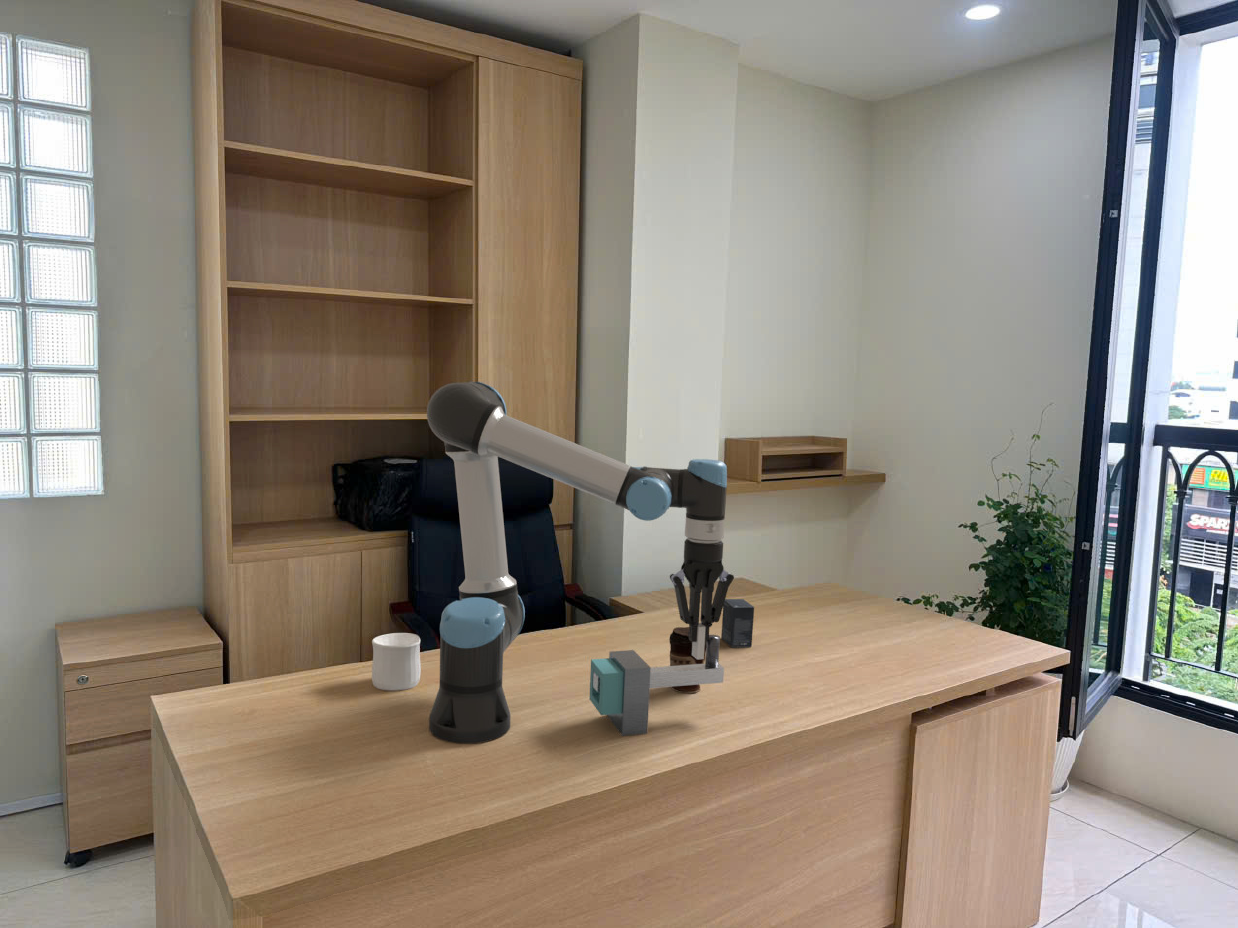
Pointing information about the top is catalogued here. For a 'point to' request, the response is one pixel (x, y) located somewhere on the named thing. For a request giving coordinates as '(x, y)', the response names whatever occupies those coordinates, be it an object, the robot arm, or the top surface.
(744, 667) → the top surface
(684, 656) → the coffee cup
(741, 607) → the box
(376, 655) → the cup
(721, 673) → the shaft
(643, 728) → the bearing block
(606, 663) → the spacer
